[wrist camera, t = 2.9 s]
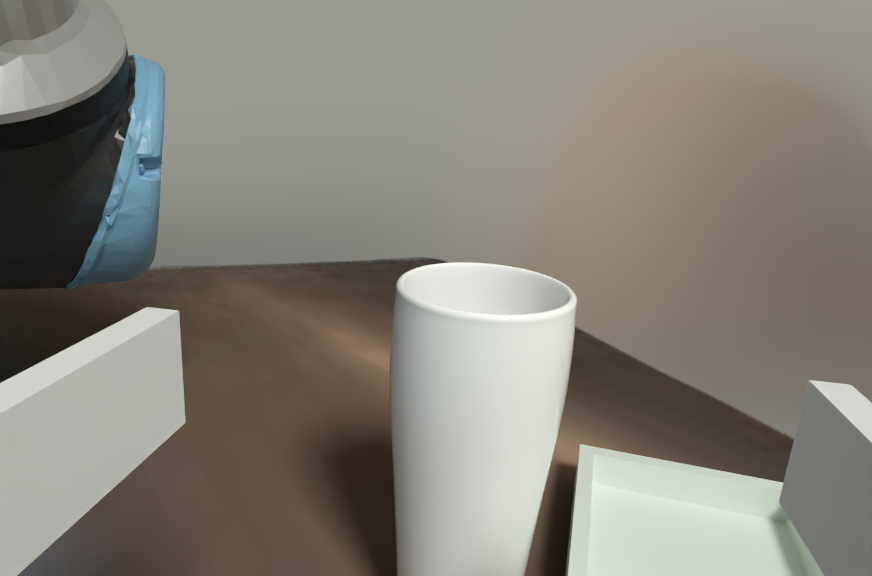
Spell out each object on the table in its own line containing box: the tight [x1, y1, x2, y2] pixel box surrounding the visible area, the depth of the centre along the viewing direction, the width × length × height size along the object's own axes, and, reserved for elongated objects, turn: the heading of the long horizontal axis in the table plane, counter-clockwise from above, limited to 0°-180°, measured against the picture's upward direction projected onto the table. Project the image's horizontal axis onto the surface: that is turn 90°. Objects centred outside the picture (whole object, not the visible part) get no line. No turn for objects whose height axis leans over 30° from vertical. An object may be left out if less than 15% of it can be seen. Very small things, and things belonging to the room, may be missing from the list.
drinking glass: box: [390, 262, 577, 576], centre depth 26 cm, size 7×7×15 cm
